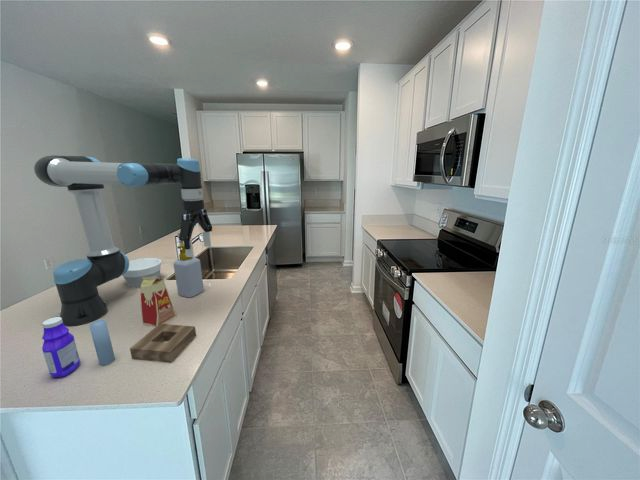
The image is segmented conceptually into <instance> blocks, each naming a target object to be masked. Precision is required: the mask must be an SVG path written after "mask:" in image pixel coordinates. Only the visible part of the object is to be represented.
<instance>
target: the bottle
mask: <svg viewBox="0 0 640 480" xmlns="http://www.w3.org/2000/svg"><path fill="white" fill-rule="evenodd" d="M42 328H43V334H42V337H41V339H42V340H43V343H42V347H41V349H42V353H43V358H44V359H45V360H44V361H45V363H46V365H47V369H48V372H49V373H48V374H49V375H50V376H51V377H53V378H62V377H65V376H67V375H69V374H71V373H72V372H74V370H76V369H77V368H78V367H79V365H80V363H81V359H80V355H79V351H78V347H77V344H76V340H75V337H74V335H73V334H72V333H71V332H69V331H70V328H68V326H65V325H64V323H63V321H62V318H61V317H60V316H57V317H56V316H55V317H51V318H48V319H46V320H44V321H43V322H42Z"/></svg>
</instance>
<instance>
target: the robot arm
mask: <svg viewBox="0 0 640 480" xmlns="http://www.w3.org/2000/svg"><path fill="white" fill-rule="evenodd" d="M176 160H177V161H176V162H177V163H141V162H140V163H137V162H126V163H125V162H106V161H105V162H104V161H103V162H101V161H100V160H99V159H97V158H95V157H92V156H85V155H84V156H83V155H45V156H42V157H41V158H39V159H38V160H36V162H35V164H34V167H33V169H34V170H33V171H34V174H35V176H36V177H37V179H38V180H40V182H43V184H46V185H49V186H51V187H55V188H56V187H57V188H58V187H59V188H64V187H66V188H67V191H68V192H69V193H71V194H72V195H74V198H75V202H76V205H77V208H78V212H79V216H80V219H81V222H82V223H81V224H82V226H83V230H84V234H85V239H86V241H87V245H88V249H89V251H88V252H87V253H86V258H79V259H74V260H70V261H67V262H64V263H62V264H60V265H57V267H56V268H54V270H53V272H52V273H53V274H52V275H53V282H54V284H55V287H56V290H57V293H58V297H59V299H60V300H59V301H60V303H61V306H60V307H61V308H60V312H59V313H60V315H59V317H61V318H62V321H63V323H64V325H65V326H66V327H72V326H73V327H77V326H81V325H84V324H85V325H86V324H88V323H92V322H95V321H97V320H99V319H101V318H102V317H104V316H105V315H106V314H107V313H108V311H109V308H108V304H106V302H105V301H104V299H103V298H102V297H101V296H100V293H99V289H98V287H99V286H101V285H104V284H106V283H109V282H110V281H113V280H115V279H119V278H120V277H121V276H123V274H125V273H126V272H127V270H128V268H129V258H128V256H127V255H126V254H125V253H124V252H123V251H121V250H120V248H119V247H117V246H115V243H114V240H113V235H112V232H111V227H110V223H109V219H108V216H107V212H106V207H105V203H104V200H103V195H102V192H103V191H104V190H105V185H109V186H111V185H112V186H113V185H115V186H116V185H117V186H126V187H131V188H132V187H133V188H136V187H137V188H139V187H144V186H146V187H147V186H157V185H158V186H159V185H169V184H170V185H171V184H172V185H173V184H174V185H175V184H176V185H177V184H178V185H180V192H181V199H182V200H183V201H182V206H183V210H184V211H185V212H186V214H181V224H180V231H179V238H178V240H179V241H181V242H183V244H184V247H185V252H186V257H194V258H195V254H194V246H193V240H192V239H191V238H192V235H193V231H194V229H195V227H196V226H197V224H198V225H199V226H200V228H201V229H202V237H203V245H204V246H203V247H208V248H209V247H210V248H212V243H211V242H212V240H211V232H213V225H212V223H211V221H210V218H209V215H208V212H207V209H205V201H204V199H203V198H204V191H203V184H202V175H201V174H202V172H201V171H202V170H201V166H200V161H199V159H197V158H187V157H185V158H183V157H181V158H177V159H176Z"/></svg>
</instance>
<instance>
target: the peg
mask: <svg viewBox="0 0 640 480" xmlns="http://www.w3.org/2000/svg"><path fill="white" fill-rule="evenodd" d="M107 324H108V323H107V319H106V320H105V319H97V320H94V321H92V322H90V324H89V326H88V327H89V330H90V334H91V338H92V342H93V344H94V349H95V354H96V356H97V360H98V363H99V364H98V365H99V366H101V367H105V366H108V365H111V364H112V363H114V362H115V360H116V356H115V352H114V349H113V345H112V340H111V336H110V331H109V328H108V325H107Z"/></svg>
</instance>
